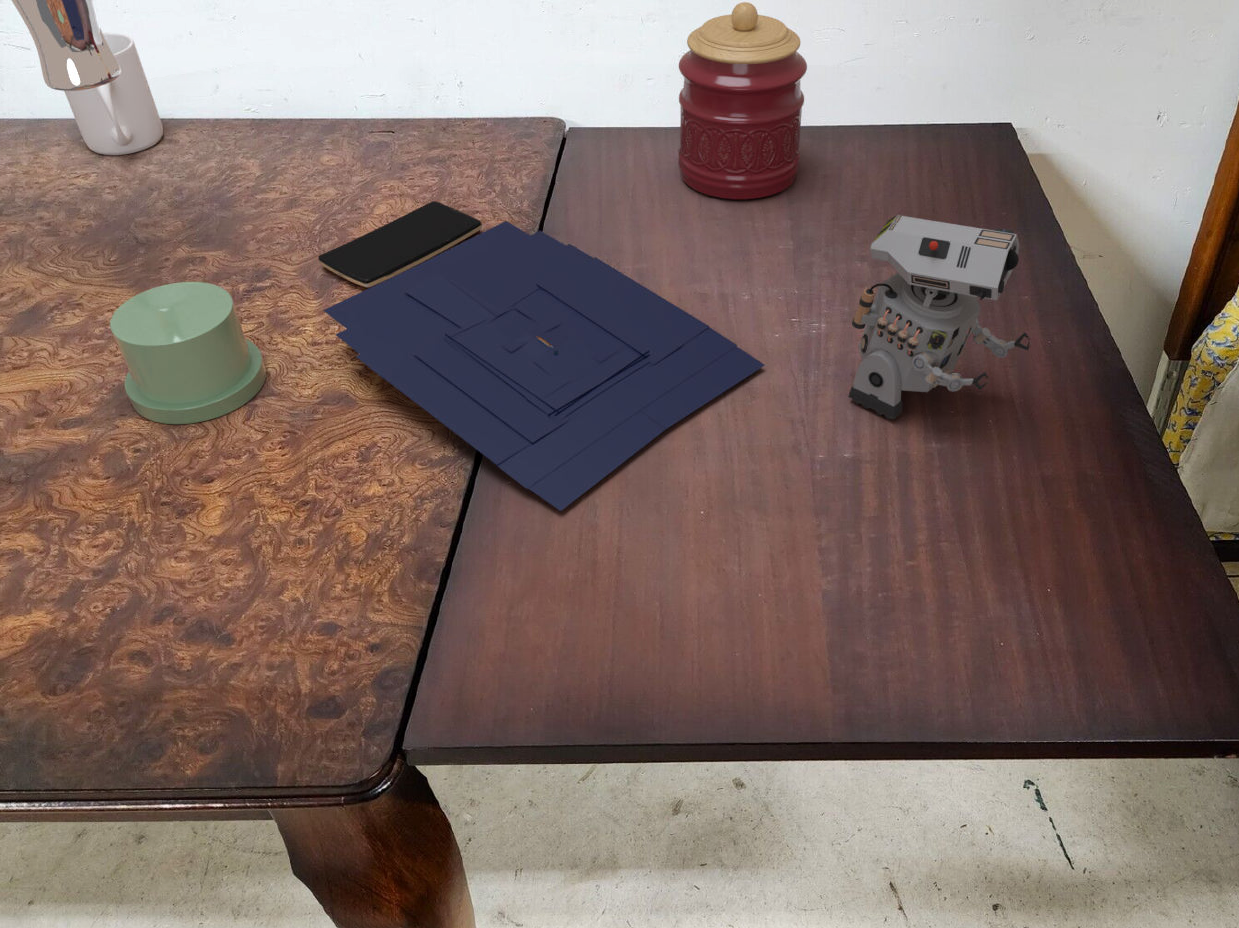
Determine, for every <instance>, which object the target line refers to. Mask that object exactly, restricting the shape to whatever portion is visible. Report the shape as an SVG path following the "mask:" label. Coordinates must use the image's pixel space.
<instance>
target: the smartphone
mask: <svg viewBox="0 0 1239 928" xmlns="http://www.w3.org/2000/svg"><path fill="white" fill-rule="evenodd" d="M482 228H483V223H482V221H480V220H479V219H477V218H476V217H473V216H471V215H469V214H467V213H465V212H462V211H460V210H458V209H456V208H453V207H452V206H448V205H446V204H444V203H442V202H440V201H435V200H433V201H430V202H427V203H425V204H424V205H422V206H420V207H418V208H416V209H414V210H412V211H410V212H408V213H406V214H404V215H401V216H400V217H398V218H396V219H394V220H392V221H389V222H388V223H386V224H384V225H382V226H379V227H378V228H376V229H374V230H371V231H369V232H368V233H365V234H363V235H361V236H359V237H357V238H355V239H353V240H350V241H349V242H346V243H345V244H342V245H340V246H337V247H336V248H333V249H331V250H329V251H327V252H324V253H322V254H320V255H318V262H319V264H320V265H321V266H322V267H324V268H325V269H327V270H329V271H330V272H332V273H334V274H336V275H338V276H339V277H341V278H343V279H345V280H347V281H349V282H351V283H353V284H356V285H359V286H361V287H363V288H371V287H373V286H375V285H377V284H379V283H381V282H383V281H385V280H388V279H390V278H392V277H394V276H396V275H398V274H400V273H402V272H404V271H407V270H409V269H411V268H413V267H415V266H417V265H419V264H421V263H423V262H425V261H427V260H429V259H431V258H433V257H435V256H437V255H439V254H441V253H443V252H445V251H447V250H449V249H451V248H452V247H454V246H456V245H458V244H460V242H462V241H464V240H466V239H467V238H469V237H471V236H473V235H474V234H476V233H477V232H479V231H480V230H482Z"/></svg>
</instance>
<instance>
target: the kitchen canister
mask: <svg viewBox="0 0 1239 928" xmlns="http://www.w3.org/2000/svg"><path fill="white" fill-rule="evenodd" d="M686 44H687V47H688V48H689V50H688V51H686V53H684V54H683V55H682V56H681V58H680V60H679V62H678V70H679V73H680V74H681V76H682V77H683V86H682V87H683V88H682V89H681V90H680V92H679V95H678V103H679V106H680V112H679V113H680V114H679V115H680V116H679V117H680V121H679V122H680V132H679V133H680V138H679V139H680V140H679V141H680V144H679V145H680V146H679V149H678V165H679V168H680V174H681V175H680V176H681V177H682V180H683V181H684V182H685V183H686V185H687V186H689V187H690V188H692V189H693V190H695V191H697V192H699V193H701V194H704V195H707V196H710V197H714V198H719V199H727V200H754V199H761V198H766V197H769V196H773V195H776V194H779V193H780V192H783V191H784V190H786V189H788V188H789V187H790V186H791V185H792V184H793V183H794V181H795V180H796V176H797V172H798V170H799V167H800V159H801V152H800V138H801V126H802V125H801V124H802V113H803V112H802V111H803V106H804V104H805V95H804V93H803V91H802V89H801V79H802V78H803V77H804V76H805V75H806V73H807V70H808V63H807V61H806V59H805V57H803V55H801V53H799V52H798V50H799V48H800V47H801V37H800V36H799V35H798V34H797V33H796V32H795V31H794V30H792V29H790V28H789V27H787V26H786V24H785V23H784V22H782V21H781V20H779V19H777V18H774V17H771V16H767V15H762V14H758V10H757V8H756V6H755V5H754V4H752V2H747V1H743V2H739V3H737V4H736V5H735V6H734V7H733V9H732V11H731V14H725V15H718V16H715V17H713V18H711V19H708V20H707V21H705V22H704V23H703V24H702V25H701V26H699V27H698V28H696V29H694V30H693V31H692V32H690V34H689V35H688V36H687V39H686Z"/></svg>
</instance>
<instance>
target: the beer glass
mask: <svg viewBox="0 0 1239 928" xmlns="http://www.w3.org/2000/svg"><path fill="white" fill-rule="evenodd" d="M11 2H12V4H13V5H14V7H15V9H16V10H17V12H18V14H19V16H20V17H21V18H22V21H23V22H24V24H25V26H26V27H27V29H28V32H29V34H30V36H31V38H32V40H33V42H34V45H35V48H36V51H37V55H38V58H39V64H40V69H41V72H42V73H41V74H42V77H43V81H44V83H45V85H46V86H47V87H48V88H50V89H53V90H57V91H62V92H64V91H77V90H85V89H91V88H95V87H99V86H102V85H105V84H107V83H110V82H112V81H114V80H115V79H116V78H118V77H119V75H120V73H121V69H120V66H119V64H118V62H117V61H116V59H115V57H114V55H113V53H112V52H111V50H110V48H109V46H108V44H107V42H106V40H105V38H104V36H103V33H104V32H103V31H102V28H101V25H100V21H99V18H98V13H97V8H96V7H97V6H96V3H95V0H11Z"/></svg>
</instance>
